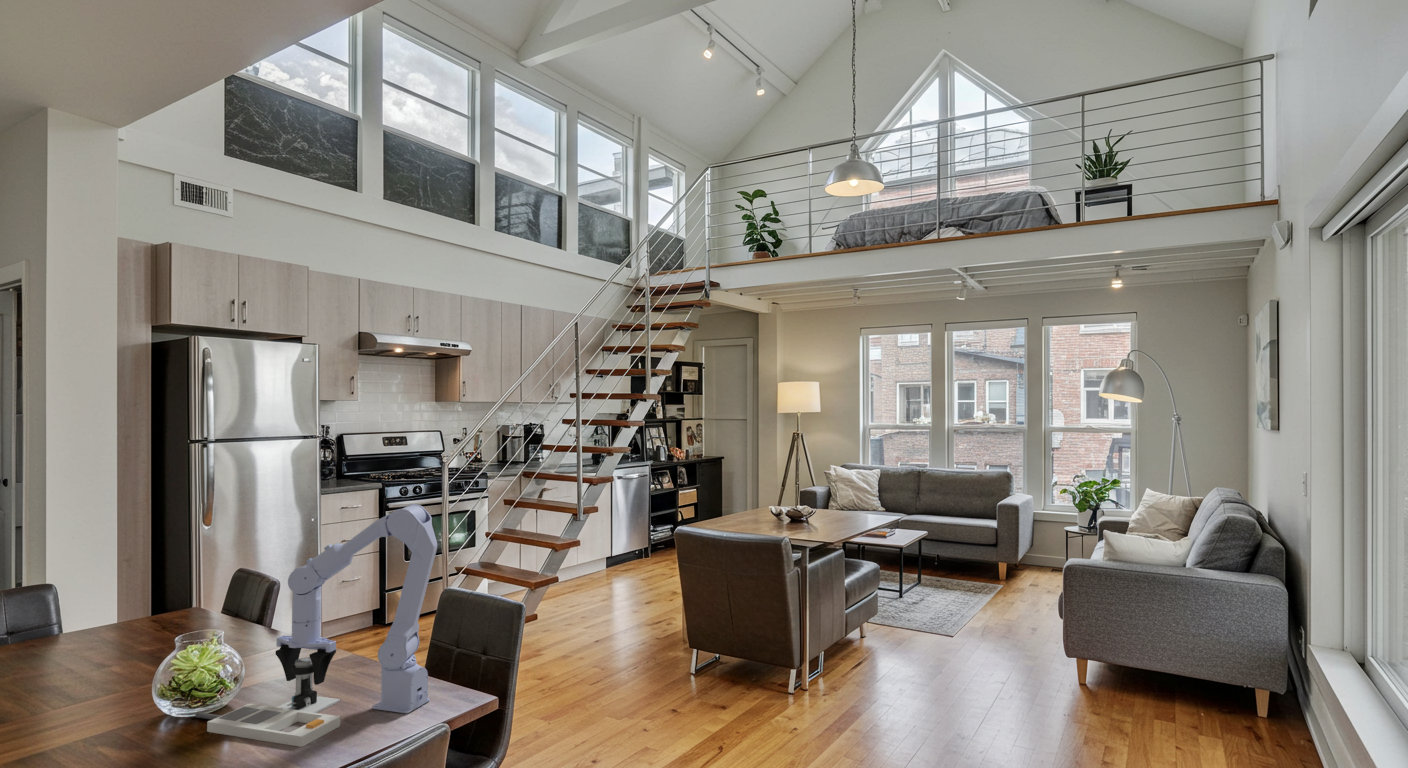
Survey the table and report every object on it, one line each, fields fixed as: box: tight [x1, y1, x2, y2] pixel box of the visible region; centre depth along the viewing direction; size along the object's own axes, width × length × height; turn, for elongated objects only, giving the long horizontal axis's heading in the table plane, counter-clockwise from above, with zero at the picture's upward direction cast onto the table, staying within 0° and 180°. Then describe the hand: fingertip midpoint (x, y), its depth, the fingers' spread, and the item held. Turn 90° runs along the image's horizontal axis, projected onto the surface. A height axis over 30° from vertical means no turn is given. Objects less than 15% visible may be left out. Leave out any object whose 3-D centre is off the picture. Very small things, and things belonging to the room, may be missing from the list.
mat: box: [277, 695, 341, 713], centre depth 166 cm, size 10×10×1 cm
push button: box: [287, 656, 318, 710], centre depth 165 cm, size 7×5×10 cm
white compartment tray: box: [194, 703, 341, 748], centre depth 156 cm, size 33×10×3 cm, turn 74°
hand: (305, 681), depth 166 cm, fingers open, 7 cm apart
